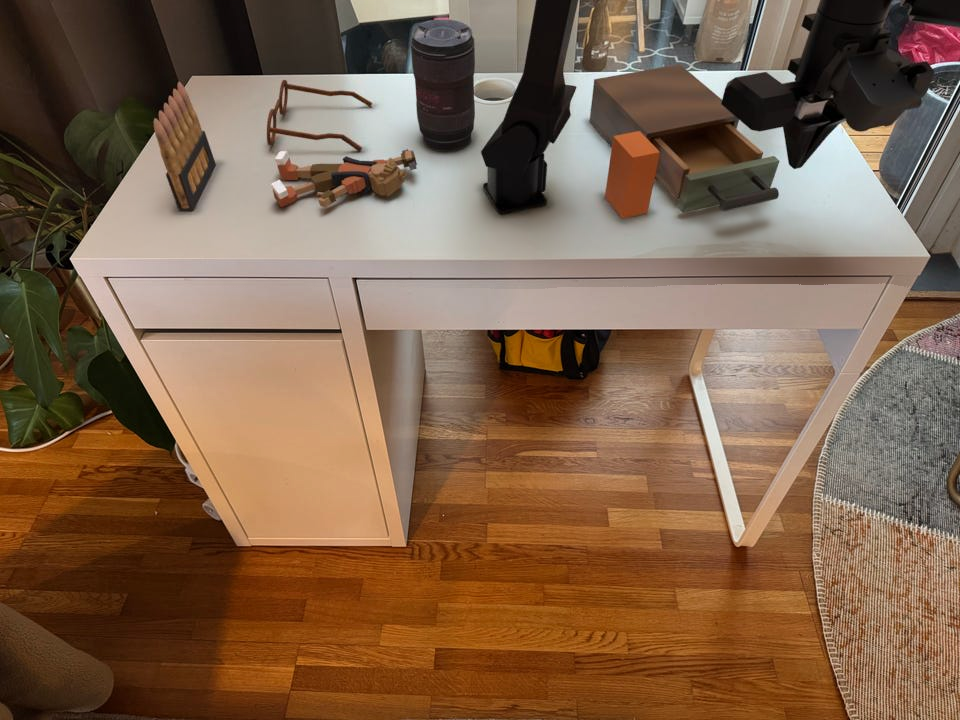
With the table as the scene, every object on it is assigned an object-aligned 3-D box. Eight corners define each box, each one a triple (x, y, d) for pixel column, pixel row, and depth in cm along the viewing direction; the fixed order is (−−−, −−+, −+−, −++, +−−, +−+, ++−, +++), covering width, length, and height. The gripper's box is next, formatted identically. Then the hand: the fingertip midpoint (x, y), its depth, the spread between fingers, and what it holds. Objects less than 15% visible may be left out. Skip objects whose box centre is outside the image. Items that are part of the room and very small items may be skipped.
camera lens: (417, 156, 96) (408, 46, 85) (419, 125, 102) (410, 18, 91) (476, 154, 97) (475, 44, 85) (475, 124, 102) (473, 17, 91)
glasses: (286, 106, 106) (278, 74, 102) (372, 105, 106) (368, 73, 102) (268, 153, 97) (259, 120, 93) (362, 153, 97) (357, 119, 93)
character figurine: (286, 137, 94) (417, 131, 90) (298, 169, 97) (424, 165, 94) (255, 188, 86) (397, 184, 83) (269, 222, 89) (405, 219, 86)
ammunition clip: (202, 164, 96) (173, 78, 87) (216, 164, 96) (188, 78, 87) (178, 211, 88) (144, 122, 80) (193, 211, 88) (160, 122, 79)
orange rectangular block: (647, 213, 87) (660, 151, 81) (622, 219, 86) (632, 157, 80) (629, 191, 90) (639, 130, 84) (604, 196, 90) (613, 135, 83)
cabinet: (728, 159, 95) (740, 115, 90) (639, 178, 92) (647, 133, 88) (671, 106, 105) (679, 63, 100) (589, 121, 102) (594, 79, 97)
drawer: (789, 213, 85) (802, 179, 82) (700, 234, 83) (710, 200, 79) (707, 137, 97) (715, 105, 94) (627, 153, 95) (632, 121, 91)
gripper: (820, 67, 55) (762, 229, 67) (1007, 32, 59) (922, 191, 71) (740, 13, 62) (700, 167, 74) (912, -15, 66) (849, 136, 78)
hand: (794, 166), depth 74 cm, fingers closed
